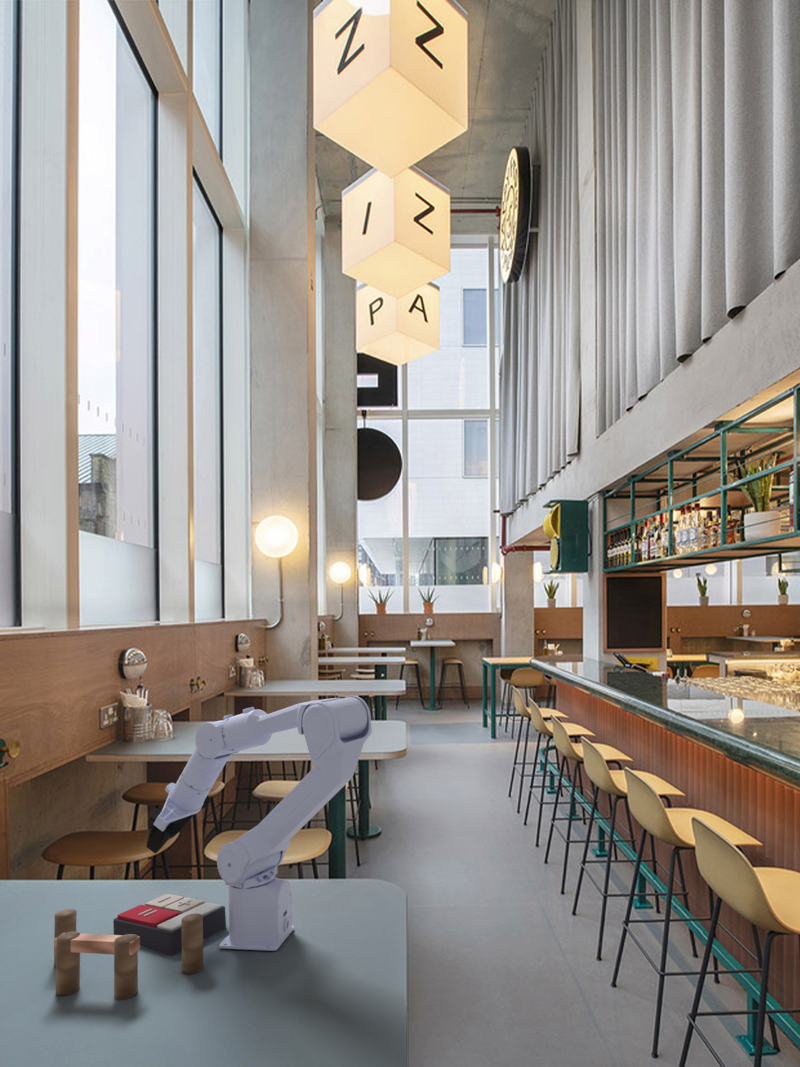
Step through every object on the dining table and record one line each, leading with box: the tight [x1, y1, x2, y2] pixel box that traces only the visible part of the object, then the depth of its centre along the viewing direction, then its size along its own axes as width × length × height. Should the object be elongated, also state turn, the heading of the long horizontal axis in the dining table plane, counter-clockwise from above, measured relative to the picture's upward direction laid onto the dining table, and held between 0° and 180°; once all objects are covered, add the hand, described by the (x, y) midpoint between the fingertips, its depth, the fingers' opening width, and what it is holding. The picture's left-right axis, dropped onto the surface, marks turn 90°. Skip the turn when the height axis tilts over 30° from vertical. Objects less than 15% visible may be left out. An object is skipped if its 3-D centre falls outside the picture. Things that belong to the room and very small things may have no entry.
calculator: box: [112, 893, 227, 957], centre depth 113 cm, size 11×4×15 cm
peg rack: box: [53, 908, 204, 1000], centre depth 99 cm, size 24×10×7 cm, turn 79°
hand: (164, 836), depth 122 cm, fingers open, 7 cm apart
